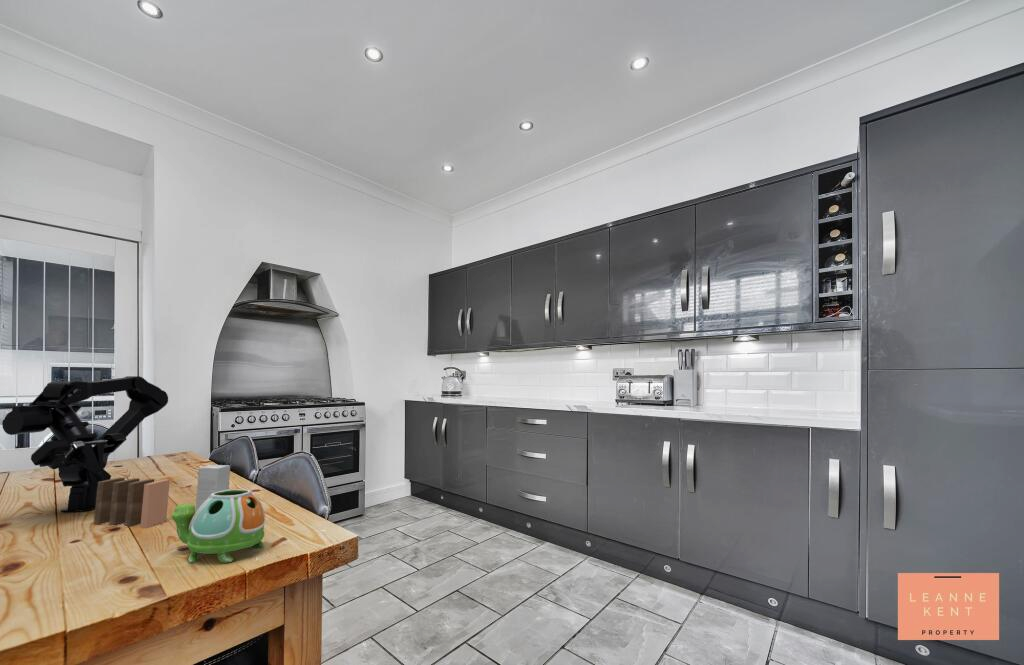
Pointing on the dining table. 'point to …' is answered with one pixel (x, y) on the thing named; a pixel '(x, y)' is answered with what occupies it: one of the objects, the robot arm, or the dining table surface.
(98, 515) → the domino
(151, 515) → the domino end
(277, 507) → the dining table surface
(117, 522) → the domino
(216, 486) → the skincare box
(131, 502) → the domino
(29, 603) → the dining table surface
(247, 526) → the turtle holder
